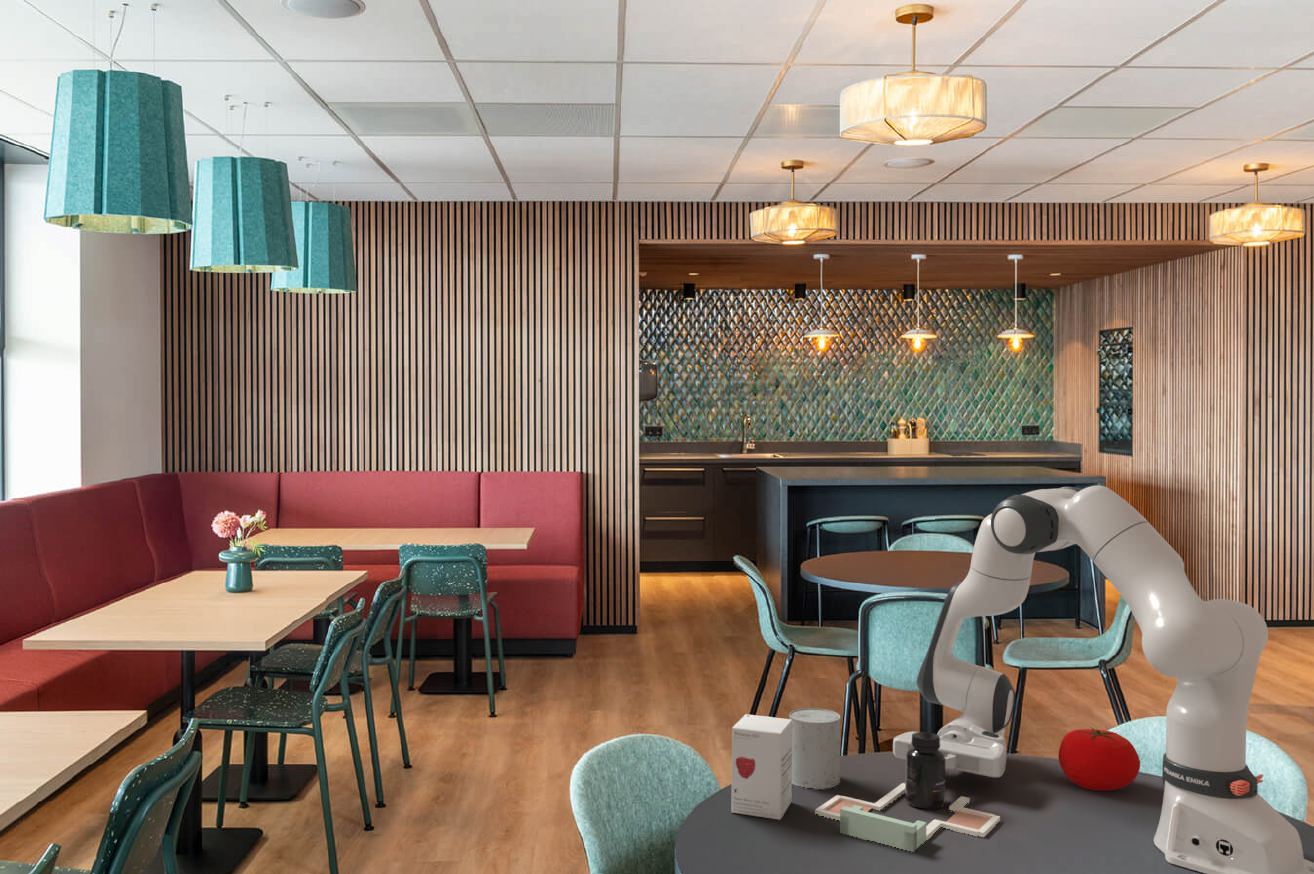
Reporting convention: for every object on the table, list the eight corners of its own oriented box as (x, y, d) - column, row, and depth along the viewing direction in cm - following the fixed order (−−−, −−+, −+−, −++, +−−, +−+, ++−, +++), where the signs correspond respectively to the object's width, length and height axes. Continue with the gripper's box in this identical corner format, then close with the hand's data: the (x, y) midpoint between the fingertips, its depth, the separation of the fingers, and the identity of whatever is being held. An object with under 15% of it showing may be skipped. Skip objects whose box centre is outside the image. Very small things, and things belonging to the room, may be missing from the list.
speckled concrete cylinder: (810, 768, 196) (810, 705, 196) (850, 780, 189) (851, 715, 189) (778, 779, 189) (778, 714, 189) (818, 793, 182) (819, 726, 182)
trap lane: (867, 779, 190) (867, 758, 189) (1009, 811, 174) (1009, 788, 174) (801, 823, 169) (802, 799, 169) (957, 864, 153) (957, 838, 153)
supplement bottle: (946, 812, 174) (947, 742, 173) (906, 808, 175) (906, 740, 175) (943, 797, 180) (944, 731, 180) (904, 794, 182) (904, 728, 182)
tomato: (1041, 778, 190) (1042, 724, 190) (1089, 768, 196) (1089, 715, 196) (1105, 804, 177) (1106, 745, 177) (1154, 792, 183) (1155, 735, 183)
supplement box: (729, 813, 173) (729, 726, 173) (743, 795, 181) (743, 712, 181) (781, 821, 170) (781, 732, 169) (793, 802, 178) (793, 718, 178)
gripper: (908, 719, 198) (879, 736, 187) (1013, 738, 186) (989, 758, 175) (908, 751, 198) (879, 770, 187) (1013, 772, 186) (989, 794, 175)
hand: (933, 765), depth 181 cm, fingers closed
